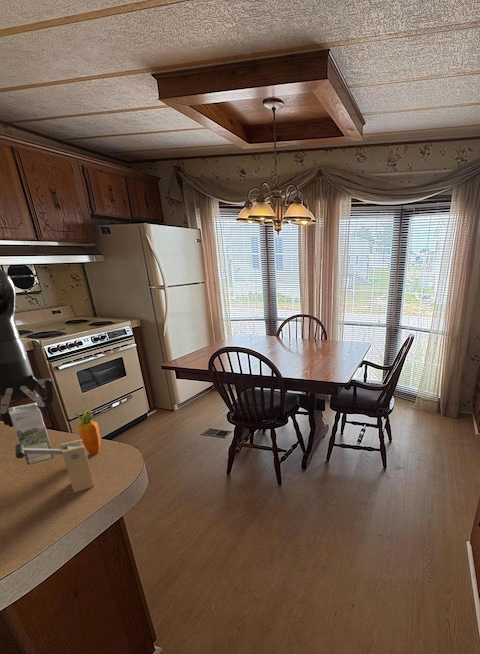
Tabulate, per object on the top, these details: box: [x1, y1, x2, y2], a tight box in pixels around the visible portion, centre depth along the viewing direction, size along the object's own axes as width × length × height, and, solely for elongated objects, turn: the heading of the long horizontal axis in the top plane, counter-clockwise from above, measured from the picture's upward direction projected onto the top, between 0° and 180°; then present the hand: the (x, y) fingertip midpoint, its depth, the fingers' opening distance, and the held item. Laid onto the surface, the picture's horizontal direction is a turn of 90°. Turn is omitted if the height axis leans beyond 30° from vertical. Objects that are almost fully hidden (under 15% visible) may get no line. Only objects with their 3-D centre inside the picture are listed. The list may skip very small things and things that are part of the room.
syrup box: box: [7, 402, 55, 466], centre depth 88 cm, size 6×6×14 cm
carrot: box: [74, 410, 101, 456], centre depth 99 cm, size 5×5×15 cm
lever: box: [14, 443, 79, 459], centre depth 81 cm, size 12×5×2 cm, turn 131°
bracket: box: [59, 438, 95, 493], centre depth 86 cm, size 8×7×13 cm
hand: (27, 422), depth 86 cm, fingers closed on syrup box, 6 cm apart
